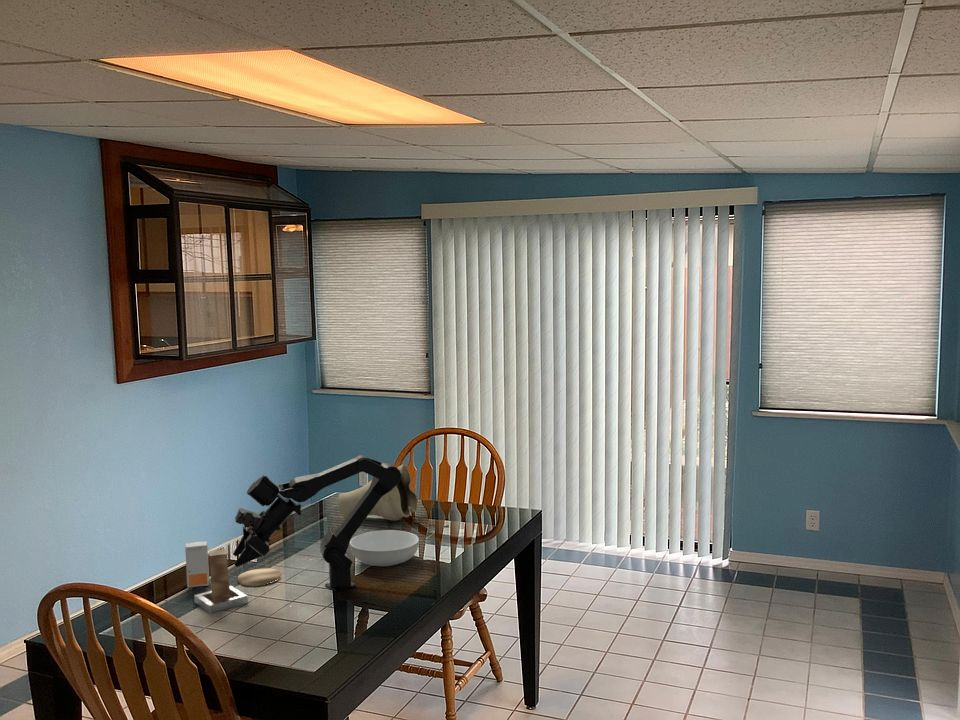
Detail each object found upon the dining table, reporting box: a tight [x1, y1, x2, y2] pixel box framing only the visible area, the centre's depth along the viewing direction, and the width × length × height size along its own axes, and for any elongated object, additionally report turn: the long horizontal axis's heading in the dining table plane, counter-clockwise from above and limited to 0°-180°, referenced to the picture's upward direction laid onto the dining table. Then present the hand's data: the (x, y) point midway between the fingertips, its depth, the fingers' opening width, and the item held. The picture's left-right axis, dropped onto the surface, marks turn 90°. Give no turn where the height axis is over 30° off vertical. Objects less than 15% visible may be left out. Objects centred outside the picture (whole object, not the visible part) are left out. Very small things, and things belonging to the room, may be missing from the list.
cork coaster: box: [237, 567, 281, 587], centre depth 259 cm, size 12×12×1 cm
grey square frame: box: [193, 585, 249, 614], centre depth 241 cm, size 10×10×2 cm
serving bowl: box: [349, 529, 420, 567], centre depth 271 cm, size 21×21×7 cm
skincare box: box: [184, 540, 210, 589], centre depth 255 cm, size 6×4×12 cm
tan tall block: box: [208, 548, 231, 603], centre depth 241 cm, size 4×4×14 cm
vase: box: [337, 464, 418, 521], centre depth 317 cm, size 23×23×30 cm
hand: (234, 560), depth 241 cm, fingers open, 9 cm apart
